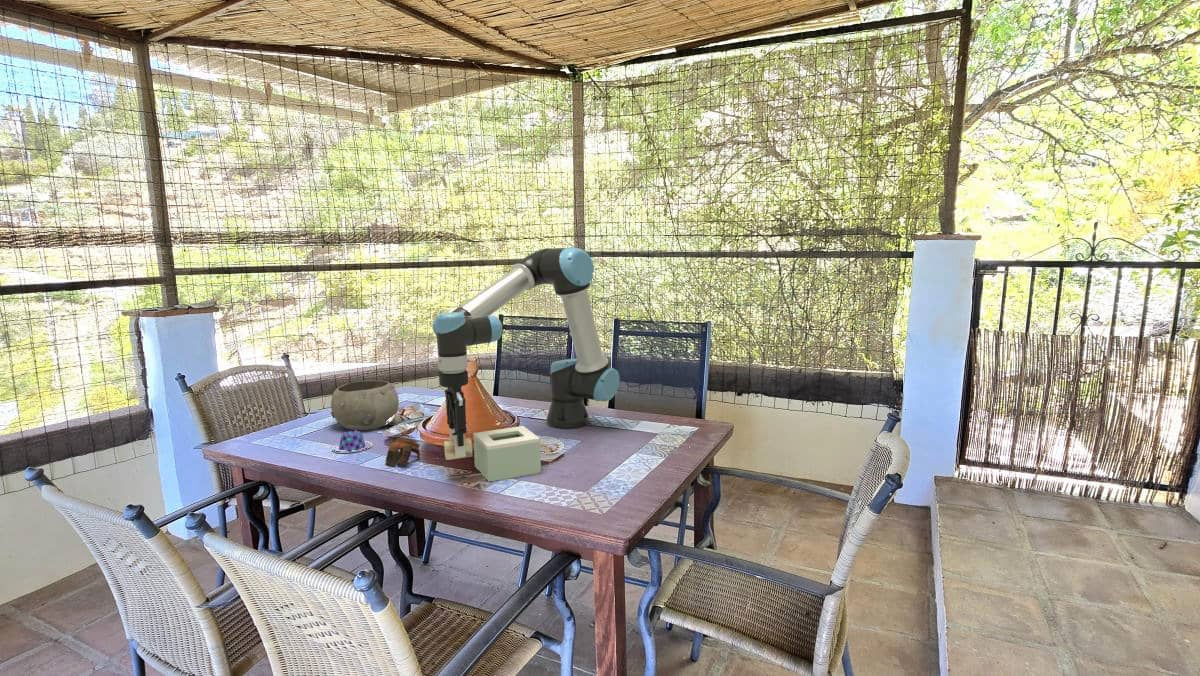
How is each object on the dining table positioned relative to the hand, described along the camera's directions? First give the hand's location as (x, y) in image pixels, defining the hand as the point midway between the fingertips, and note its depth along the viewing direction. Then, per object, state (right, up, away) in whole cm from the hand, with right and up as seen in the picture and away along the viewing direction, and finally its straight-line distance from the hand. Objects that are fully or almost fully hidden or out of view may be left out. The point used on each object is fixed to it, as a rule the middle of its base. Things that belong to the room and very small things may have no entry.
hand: (458, 454), depth 167 cm
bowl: (-46, 0, +55) cm, 71 cm away
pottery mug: (-19, -5, +14) cm, 24 cm away
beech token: (0, -1, 0) cm, 1 cm away
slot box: (+12, -6, +7) cm, 15 cm away
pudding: (-40, -4, +28) cm, 50 cm away
